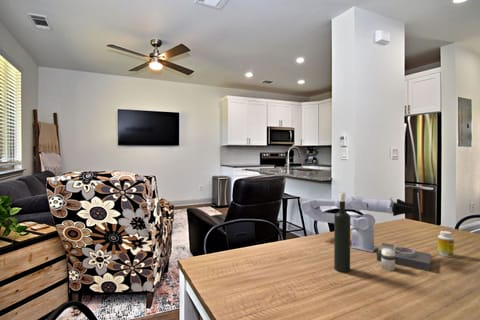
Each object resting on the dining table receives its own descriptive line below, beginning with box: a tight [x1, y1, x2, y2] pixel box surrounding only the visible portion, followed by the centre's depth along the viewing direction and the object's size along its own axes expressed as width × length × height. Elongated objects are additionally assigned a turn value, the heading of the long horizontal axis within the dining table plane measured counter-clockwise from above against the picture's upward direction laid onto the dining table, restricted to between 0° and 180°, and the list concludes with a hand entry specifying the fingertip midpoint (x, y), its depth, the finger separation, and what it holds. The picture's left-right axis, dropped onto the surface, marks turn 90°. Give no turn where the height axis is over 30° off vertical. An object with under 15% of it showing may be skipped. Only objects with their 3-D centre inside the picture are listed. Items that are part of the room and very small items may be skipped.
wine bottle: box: [333, 191, 351, 273], centre depth 101 cm, size 6×6×30 cm
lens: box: [381, 248, 396, 272], centre depth 103 cm, size 5×5×7 cm
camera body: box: [376, 242, 432, 272], centre depth 110 cm, size 18×12×4 cm, turn 52°
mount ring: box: [393, 246, 416, 257], centre depth 110 cm, size 8×8×2 cm
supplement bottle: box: [437, 230, 455, 258], centre depth 115 cm, size 6×6×10 cm
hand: (414, 208), depth 111 cm, fingers open, 7 cm apart
